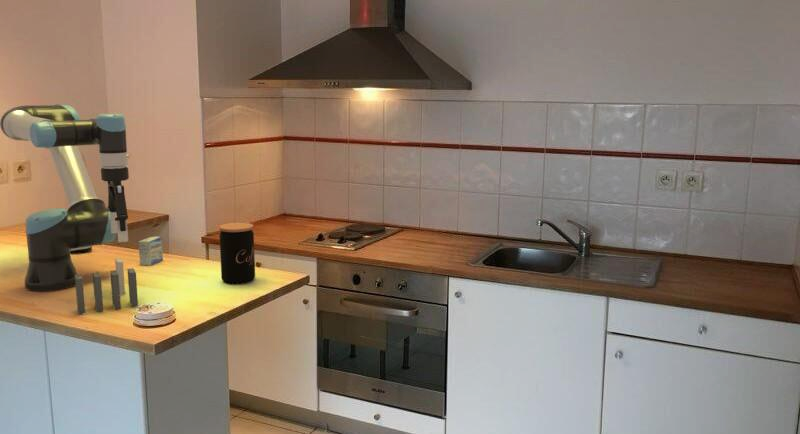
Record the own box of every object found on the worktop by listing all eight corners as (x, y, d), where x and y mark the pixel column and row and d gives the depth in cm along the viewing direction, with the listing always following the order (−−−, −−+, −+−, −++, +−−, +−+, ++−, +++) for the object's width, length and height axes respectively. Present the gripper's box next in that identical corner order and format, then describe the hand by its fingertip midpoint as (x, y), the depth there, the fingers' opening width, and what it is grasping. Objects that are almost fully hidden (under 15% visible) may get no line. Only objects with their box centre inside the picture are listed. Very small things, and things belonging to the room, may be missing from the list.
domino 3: (119, 294, 209) (117, 262, 207) (117, 290, 213) (115, 258, 211) (125, 293, 209) (122, 261, 208) (123, 289, 214) (120, 258, 212)
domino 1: (79, 314, 191) (75, 279, 189) (77, 309, 195) (74, 274, 193) (85, 313, 192) (82, 278, 190) (83, 308, 196) (80, 274, 194)
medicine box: (151, 266, 241) (149, 241, 240) (139, 265, 242) (137, 241, 240) (163, 260, 249) (161, 236, 247) (151, 259, 250) (150, 236, 248)
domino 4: (114, 309, 195) (112, 275, 193) (112, 304, 200) (110, 270, 198) (120, 308, 196) (118, 274, 194) (118, 303, 200) (116, 270, 198)
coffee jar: (238, 287, 217) (236, 230, 214) (214, 281, 223) (211, 226, 219) (262, 279, 226) (260, 224, 222) (238, 274, 231) (236, 221, 228)
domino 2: (97, 311, 193) (94, 277, 191) (95, 306, 197) (92, 272, 196) (103, 311, 194) (100, 276, 192) (101, 306, 198) (98, 272, 196)
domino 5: (132, 307, 197) (129, 273, 196) (129, 302, 202) (127, 268, 200) (138, 306, 198) (135, 272, 196) (135, 301, 203) (133, 268, 201)
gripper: (135, 170, 196) (140, 244, 200) (121, 161, 217) (125, 228, 221) (106, 172, 192) (112, 247, 197) (95, 163, 214) (100, 230, 218)
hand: (119, 237), depth 209 cm, fingers open, 13 cm apart
